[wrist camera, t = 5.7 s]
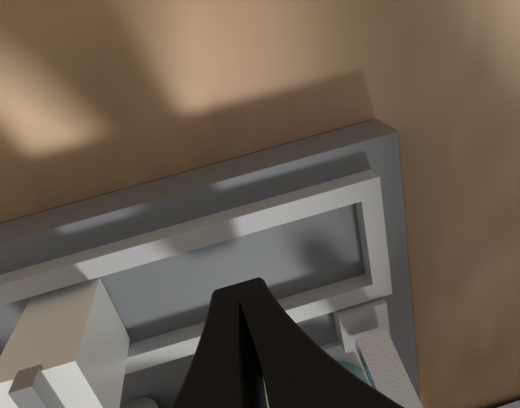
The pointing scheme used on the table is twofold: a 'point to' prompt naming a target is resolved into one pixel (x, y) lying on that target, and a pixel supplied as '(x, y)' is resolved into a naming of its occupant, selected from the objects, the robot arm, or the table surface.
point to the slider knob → (66, 351)
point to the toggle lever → (386, 369)
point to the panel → (233, 252)
